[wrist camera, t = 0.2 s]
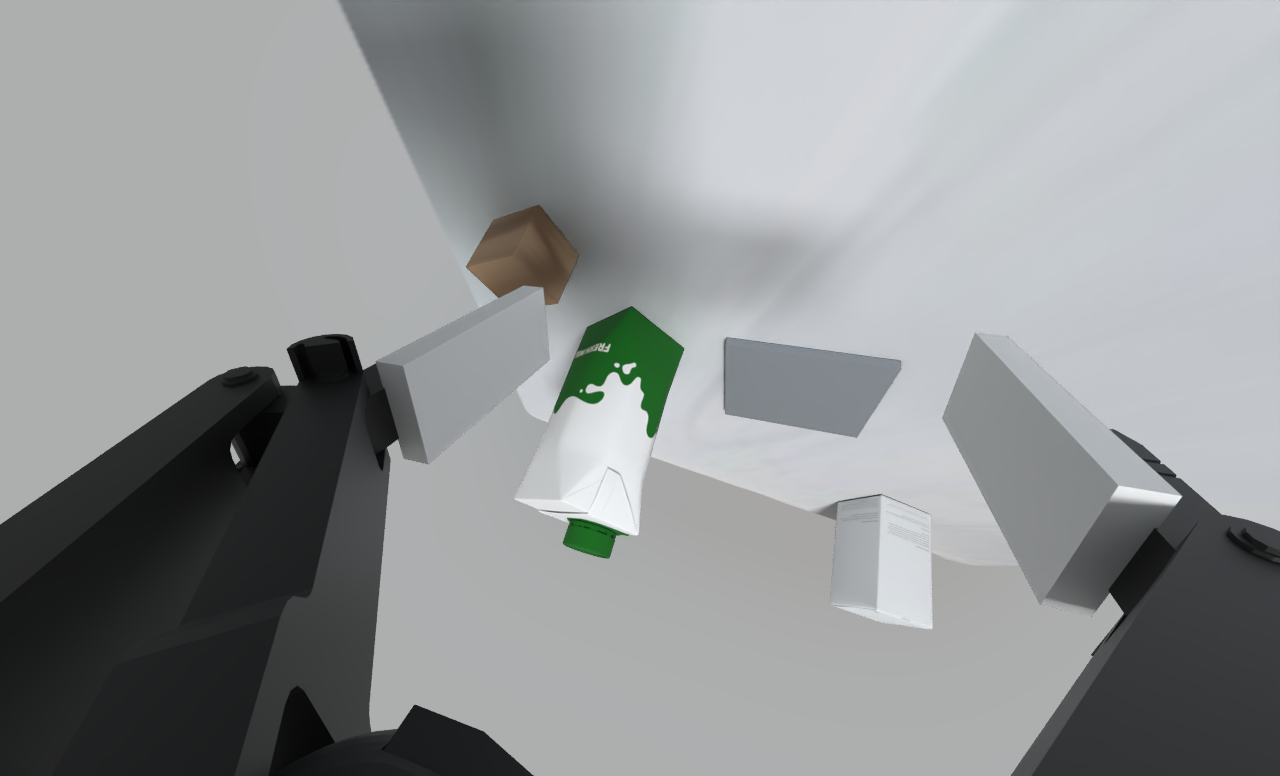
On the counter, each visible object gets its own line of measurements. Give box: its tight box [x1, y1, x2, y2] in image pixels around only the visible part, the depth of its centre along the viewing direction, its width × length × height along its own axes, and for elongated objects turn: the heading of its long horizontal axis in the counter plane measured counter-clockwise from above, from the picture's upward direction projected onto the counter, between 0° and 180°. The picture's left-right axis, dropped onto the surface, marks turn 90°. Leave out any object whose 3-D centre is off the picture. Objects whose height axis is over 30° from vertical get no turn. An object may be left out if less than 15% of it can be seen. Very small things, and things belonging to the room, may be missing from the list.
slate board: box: [725, 338, 901, 438], centre depth 44 cm, size 14×14×1 cm
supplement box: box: [830, 495, 933, 629], centre depth 64 cm, size 9×9×15 cm
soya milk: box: [514, 307, 684, 558], centre depth 40 cm, size 9×9×20 cm
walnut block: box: [466, 205, 579, 305], centre depth 35 cm, size 5×5×5 cm
